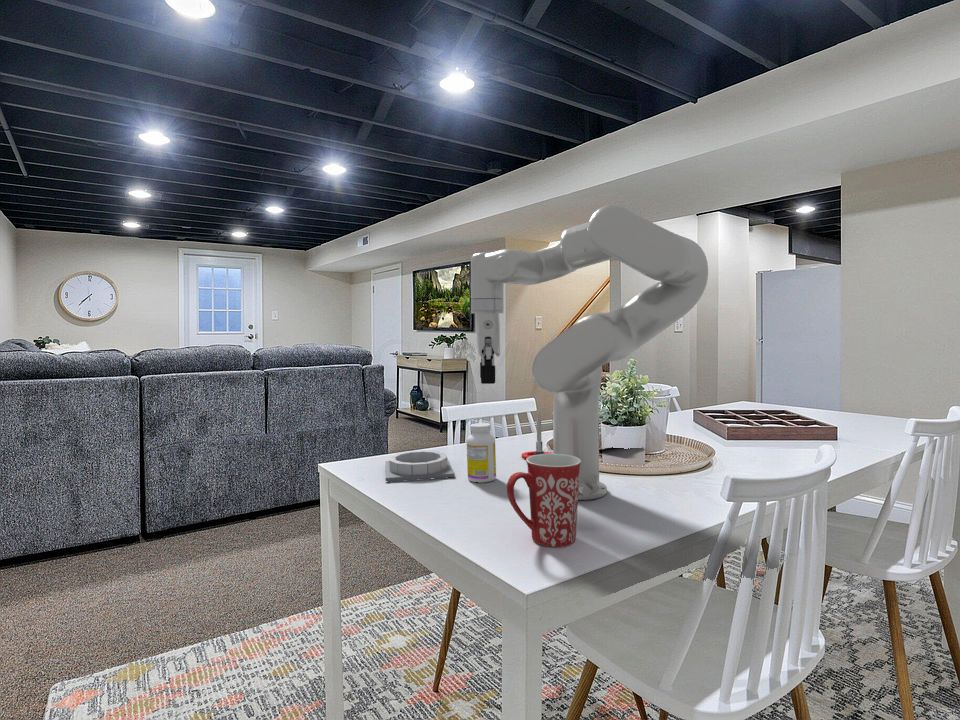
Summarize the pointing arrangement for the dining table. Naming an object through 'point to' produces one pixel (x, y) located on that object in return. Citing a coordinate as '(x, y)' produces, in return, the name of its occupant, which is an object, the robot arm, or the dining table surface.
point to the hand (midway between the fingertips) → (487, 381)
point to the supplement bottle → (481, 454)
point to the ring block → (418, 466)
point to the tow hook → (538, 443)
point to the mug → (550, 498)
